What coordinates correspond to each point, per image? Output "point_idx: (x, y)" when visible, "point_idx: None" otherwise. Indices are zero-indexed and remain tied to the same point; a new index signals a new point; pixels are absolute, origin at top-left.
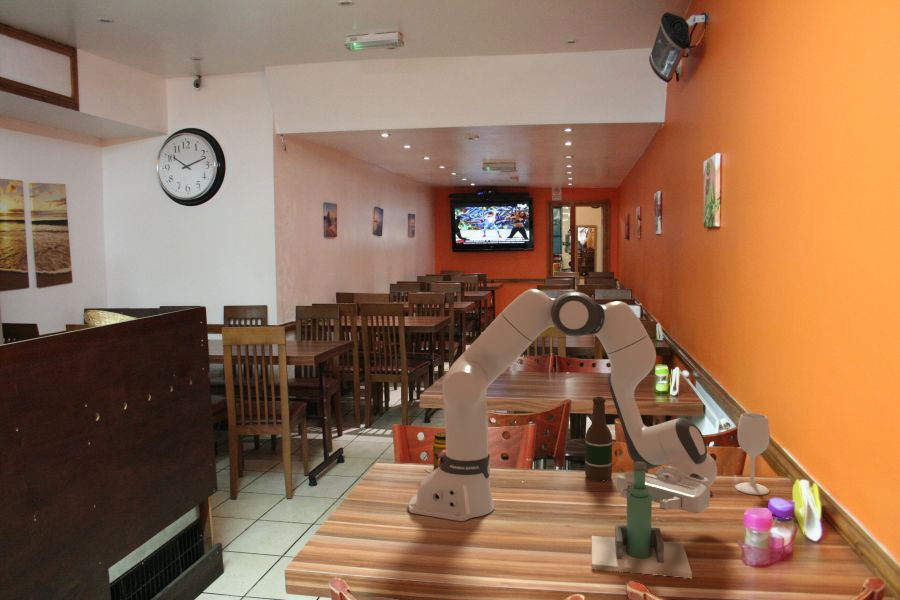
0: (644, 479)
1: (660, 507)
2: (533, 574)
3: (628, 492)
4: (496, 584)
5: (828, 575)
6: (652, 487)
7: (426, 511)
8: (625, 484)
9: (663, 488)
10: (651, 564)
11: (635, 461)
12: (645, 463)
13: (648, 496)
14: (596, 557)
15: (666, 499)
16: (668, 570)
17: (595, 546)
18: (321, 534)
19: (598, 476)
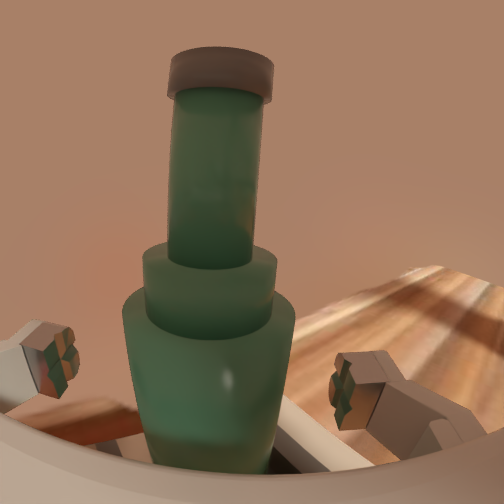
0: (170, 177)
1: (74, 357)
2: (330, 338)
3: (286, 305)
4: (333, 307)
5: None
6: (172, 468)
7: None
8: (459, 409)
9: (20, 439)
10: (143, 459)
11: (271, 61)
12: (183, 55)
13: (143, 309)
14: (291, 414)
15: (26, 346)
16: (91, 448)
17: (342, 453)
18: (491, 283)
19: None
